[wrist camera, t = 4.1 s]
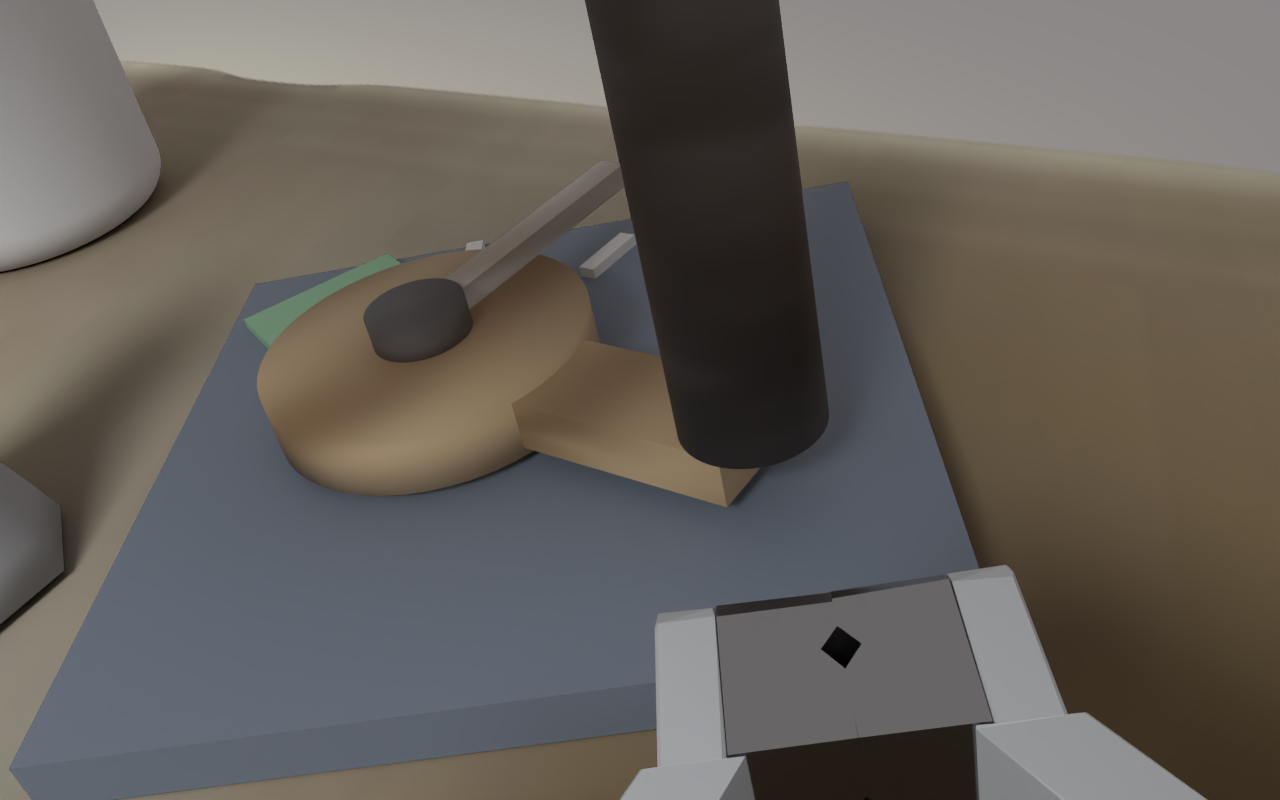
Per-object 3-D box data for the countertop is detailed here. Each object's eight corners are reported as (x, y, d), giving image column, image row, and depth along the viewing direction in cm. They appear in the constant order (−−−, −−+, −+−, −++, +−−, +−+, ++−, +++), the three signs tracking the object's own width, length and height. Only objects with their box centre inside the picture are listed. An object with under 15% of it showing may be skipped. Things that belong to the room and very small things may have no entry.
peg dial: (213, 448, 30) (-99, -197, 22) (521, 216, 37) (374, -329, 29) (721, 630, 22) (528, -287, 13) (985, 288, 29) (962, -438, 21)
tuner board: (38, 809, 23) (1, 758, 22) (269, 317, 38) (251, 275, 37) (1003, 683, 21) (1002, 623, 21) (851, 218, 36) (846, 171, 35)
